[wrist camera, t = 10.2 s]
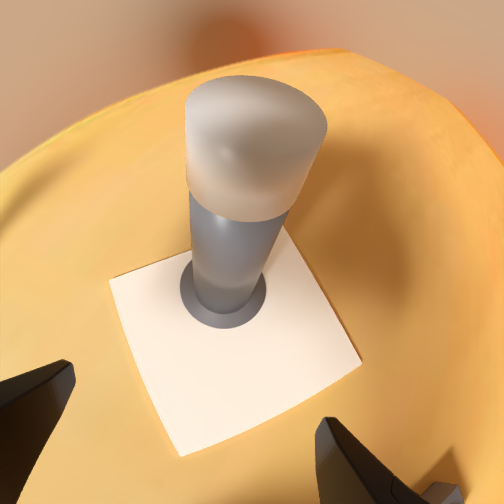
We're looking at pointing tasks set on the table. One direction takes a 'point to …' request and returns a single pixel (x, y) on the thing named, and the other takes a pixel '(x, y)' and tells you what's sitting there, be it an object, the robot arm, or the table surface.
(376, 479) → the robot arm
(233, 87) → the marker
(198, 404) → the notepad
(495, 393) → the table surface
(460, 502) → the button box
